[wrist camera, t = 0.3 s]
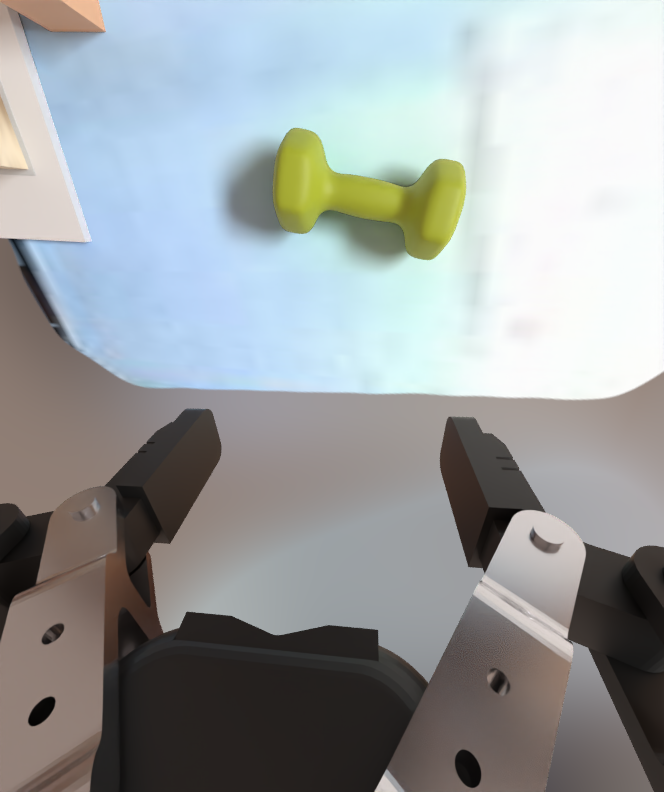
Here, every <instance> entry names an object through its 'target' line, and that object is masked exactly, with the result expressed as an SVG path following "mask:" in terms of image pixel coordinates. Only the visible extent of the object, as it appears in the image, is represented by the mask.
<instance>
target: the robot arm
mask: <svg viewBox="0 0 664 792" xmlns="http://www.w3.org/2000/svg"><path fill="white" fill-rule="evenodd" d="M220 456H221V442H220V439H219V435H218V431H217V427H216V424H215V420H214V416H213V414H212V412H211V410H209V409H185V410H184V411H183V412H182V413H181V414H180V415H179V417H178V418H177V419H176V420H175V421H174V422H171V423H169V424H168V425H166V426H164V427H163V428H161V429H160V430H158V431H157V432H156V433H155V434H154V435H153V436H152V437H151V438H150V439H149V440H148V441H147V444H144V445H143V446H142V447H141V448H140V449H139V451H138V453H136V454H135V455H134V456H133V457H132V458H131V459H130V460H129V461H128V462H127V463H126V464H125V465H124V466H123V467H122V468H121V469H120V470H119V471H118V473H116V475H115V476H114V477H113V478H112V479H111V480H110V481H109V482H108V483H107V484H106V485H105V486H99V487H93V488H89V489H86V490H83V491H81V492H79V493H77V494H75V495H73V496H72V497H70V498H68V499H67V500H65V501H64V502H63V503H62V504H60V505H59V506H58V507H57V508H56V510H55V511H52V512H47V513H42V514H37V515H32V516H27V517H26V516H25V515H24V514H23V513H22V511H21V510H20V509H19V508H18V507H17V506H16V505H14V504H9V503H6V504H0V792H545V788H546V784H547V778H548V774H549V769H550V764H551V759H552V755H553V750H554V745H555V740H556V735H557V730H558V726H559V721H560V716H561V711H562V707H563V702H564V697H565V692H566V687H567V682H568V678H569V673H570V668H571V663H572V657H573V644H572V642H571V641H573V642H576V643H578V644H581V645H583V646H585V647H588V648H589V651H590V653H591V655H592V657H593V659H594V662H595V664H596V666H597V668H598V670H599V672H600V675H601V677H602V679H603V681H604V683H605V685H606V688H607V690H608V692H609V694H610V696H611V699H612V701H613V703H614V705H615V707H616V710H617V712H618V714H619V716H620V718H621V720H622V723H623V725H624V727H625V729H626V731H627V734H628V736H629V738H630V740H631V742H632V745H633V747H634V749H635V751H636V753H637V756H638V758H639V760H640V762H641V764H642V766H643V769H644V771H645V773H646V775H647V777H648V780H649V781H650V784H651V786H652V788H653V790H654V792H664V547H658V546H644V547H641V548H639V549H638V550H636V552H635V553H634V554H633V556H632V557H631V558H630V557H627V556H624V555H621V554H618V553H614V552H611V551H608V550H605V549H601V548H598V547H595V546H592V545H589V544H587V543H584V542H582V540H581V539H580V537H579V536H578V535H577V533H576V532H575V531H574V530H573V529H572V528H571V527H570V526H568V525H567V524H566V523H564V522H563V521H561V520H560V519H558V518H556V517H554V516H552V515H550V514H547V513H546V512H545V511H544V509H543V507H542V506H541V504H540V502H539V501H538V499H537V497H536V496H535V494H534V492H533V491H532V489H531V487H530V485H529V484H528V482H527V481H526V479H525V477H524V475H523V474H522V472H521V471H519V467H518V465H517V464H516V462H515V460H513V457H512V455H511V454H510V452H509V450H508V449H507V447H506V445H505V444H504V443H503V442H501V441H500V440H499V439H497V438H496V437H495V436H494V435H493V434H487V433H483V432H482V430H481V429H480V427H479V425H478V423H477V421H476V419H475V418H474V417H449V418H448V419H447V423H446V427H445V432H444V437H443V442H442V448H441V453H440V468H441V473H442V477H443V480H444V484H445V487H446V491H447V494H448V497H449V501H450V504H451V508H452V511H453V515H454V518H455V522H456V525H457V529H458V532H459V536H460V539H461V543H462V546H463V550H464V553H465V556H466V560H467V563H468V567H476V568H483V570H484V573H485V574H484V576H483V578H482V580H481V581H480V582H479V584H478V585H477V587H476V589H475V591H474V593H473V595H472V597H471V599H470V601H469V603H468V605H467V607H466V609H465V611H464V613H463V615H462V618H461V620H460V621H459V623H458V626H457V627H456V629H455V632H454V634H453V636H452V638H451V640H450V642H449V644H448V646H447V648H446V650H445V652H444V654H443V656H442V658H441V660H440V662H439V664H438V666H437V668H436V670H435V672H434V674H433V676H432V678H431V680H430V682H429V683H428V682H427V681H426V680H425V679H424V677H423V676H422V675H420V674H419V673H418V672H417V671H416V670H415V669H414V668H413V667H412V666H411V665H410V664H409V663H407V662H406V661H405V660H403V659H402V658H400V657H399V656H398V655H396V654H394V653H393V652H391V651H389V650H387V649H385V648H383V647H381V646H379V645H378V630H373V629H363V628H351V627H342V626H330V625H328V626H323V627H318V628H313V629H309V630H304V631H299V632H294V633H290V634H285V635H273V634H270V633H268V632H266V631H263V630H261V629H259V628H257V627H255V626H252V625H250V624H248V623H246V622H244V621H241V620H239V619H237V618H235V617H233V616H226V615H215V614H204V613H195V612H186V615H185V617H184V619H183V621H182V623H181V626H180V628H178V629H174V630H172V631H169V632H166V633H163V630H162V627H161V625H160V621H159V618H158V613H157V605H156V596H155V587H154V579H153V571H152V563H151V562H152V561H151V556H150V554H149V552H148V551H149V549H150V547H151V546H152V544H153V543H168V544H170V543H171V541H172V540H173V538H174V536H175V534H176V533H177V531H178V529H179V528H180V526H181V524H182V523H183V521H184V519H185V518H186V516H187V514H188V512H189V511H190V509H191V507H192V506H193V504H194V502H195V501H196V499H197V497H198V496H199V494H200V492H201V490H202V489H203V487H204V485H205V484H206V482H207V480H208V479H209V477H210V475H211V473H212V471H213V470H214V468H215V467H216V465H217V463H218V461H219V459H220ZM568 639H569V640H571V641H569V640H568Z"/></svg>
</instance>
